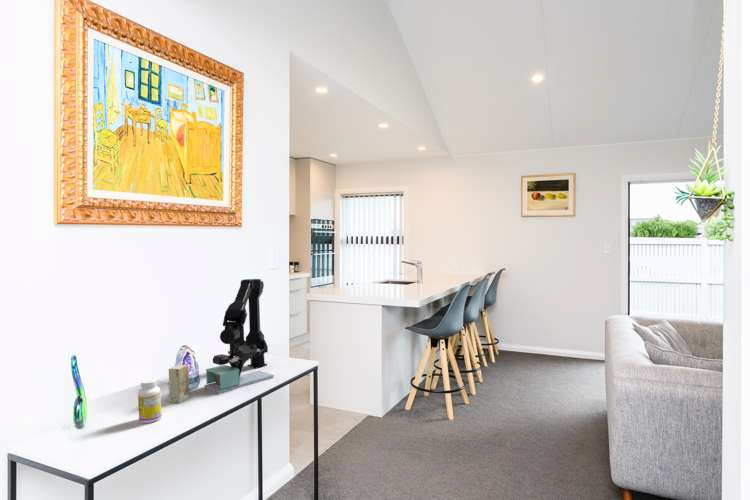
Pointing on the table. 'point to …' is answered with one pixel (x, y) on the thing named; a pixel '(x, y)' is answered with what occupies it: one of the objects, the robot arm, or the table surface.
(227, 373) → the block
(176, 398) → the skincare box
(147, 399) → the supplement bottle
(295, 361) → the table surface
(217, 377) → the block
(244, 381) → the grey flat rectangular block
